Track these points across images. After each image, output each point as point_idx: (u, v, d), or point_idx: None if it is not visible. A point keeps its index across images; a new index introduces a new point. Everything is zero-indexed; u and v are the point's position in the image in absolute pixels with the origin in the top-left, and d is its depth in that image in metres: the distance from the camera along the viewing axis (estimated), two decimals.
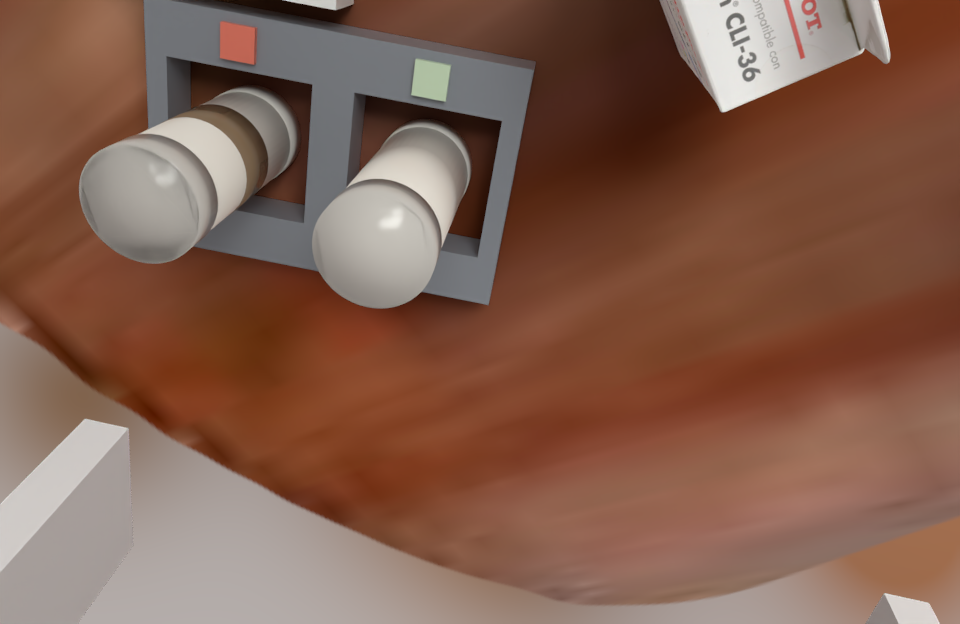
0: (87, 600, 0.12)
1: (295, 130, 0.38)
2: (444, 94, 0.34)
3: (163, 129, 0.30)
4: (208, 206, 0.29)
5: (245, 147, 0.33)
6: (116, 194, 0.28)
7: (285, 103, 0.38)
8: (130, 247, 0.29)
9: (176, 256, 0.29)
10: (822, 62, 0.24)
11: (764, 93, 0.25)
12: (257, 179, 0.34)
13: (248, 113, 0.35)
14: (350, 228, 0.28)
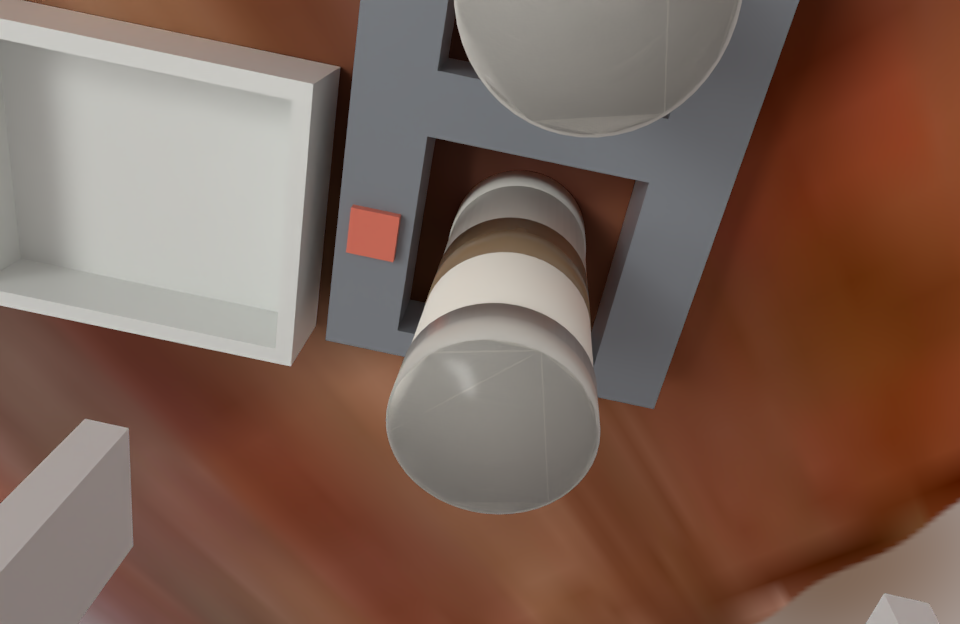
0: (87, 600, 0.12)
1: (513, 177, 0.26)
2: None
3: None
4: (507, 321, 0.16)
5: (477, 247, 0.20)
6: (472, 460, 0.17)
7: (478, 186, 0.26)
8: (567, 464, 0.17)
9: (590, 396, 0.16)
10: None
11: None
12: (537, 238, 0.21)
13: (454, 236, 0.23)
14: (538, 44, 0.13)
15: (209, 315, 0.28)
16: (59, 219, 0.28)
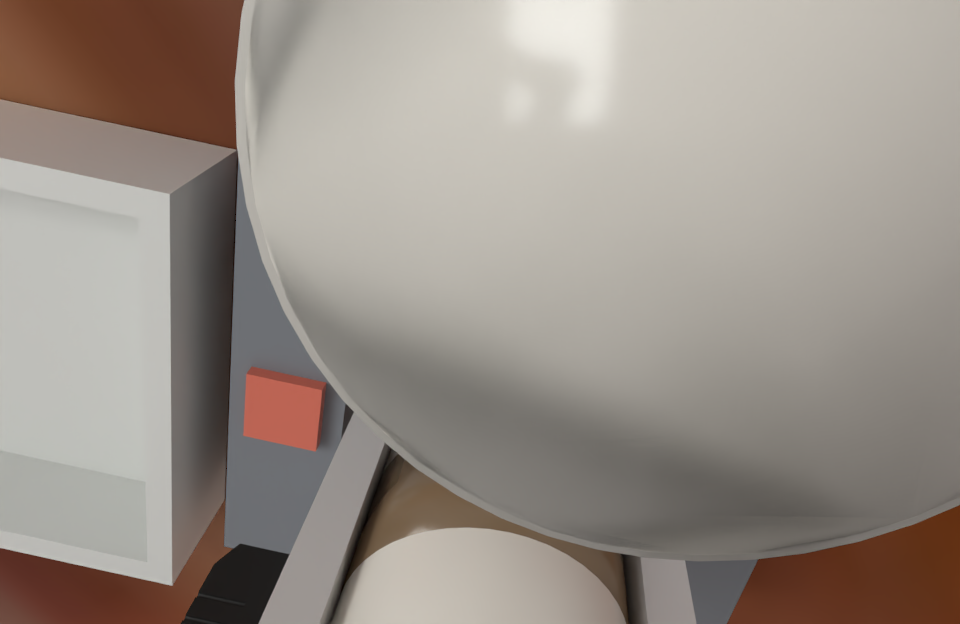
0: None
1: None
2: None
3: None
4: None
5: (429, 501, 0.12)
6: None
7: None
8: None
9: None
10: None
11: None
12: None
13: None
14: (523, 323, 0.04)
15: (60, 500, 0.19)
16: None
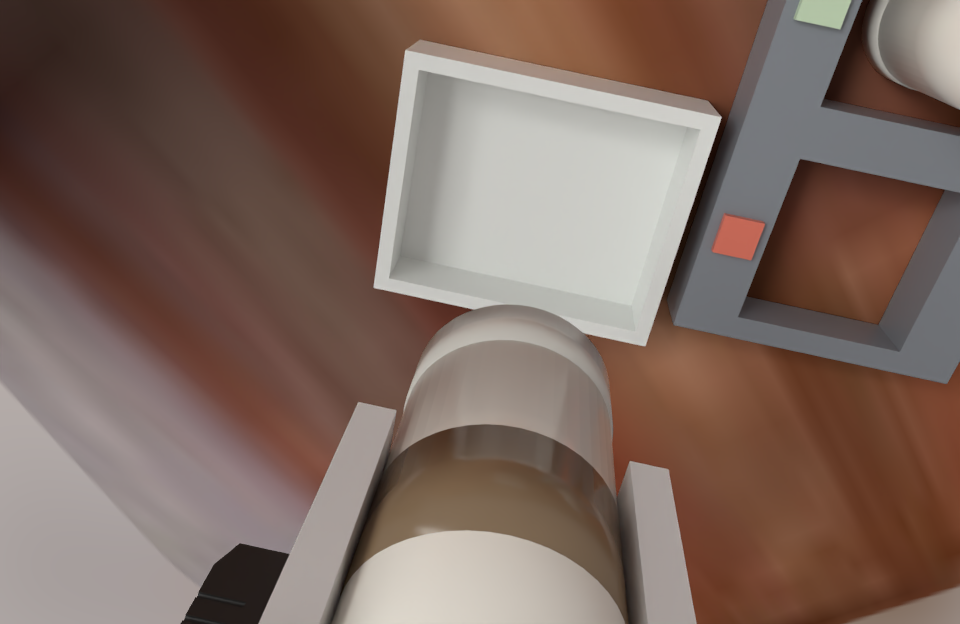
0: None
1: (502, 319, 0.17)
2: None
3: None
4: None
5: (429, 504, 0.12)
6: None
7: (449, 327, 0.17)
8: None
9: None
10: None
11: None
12: (534, 480, 0.12)
13: (402, 439, 0.14)
14: None
15: (568, 304, 0.33)
16: (442, 223, 0.34)
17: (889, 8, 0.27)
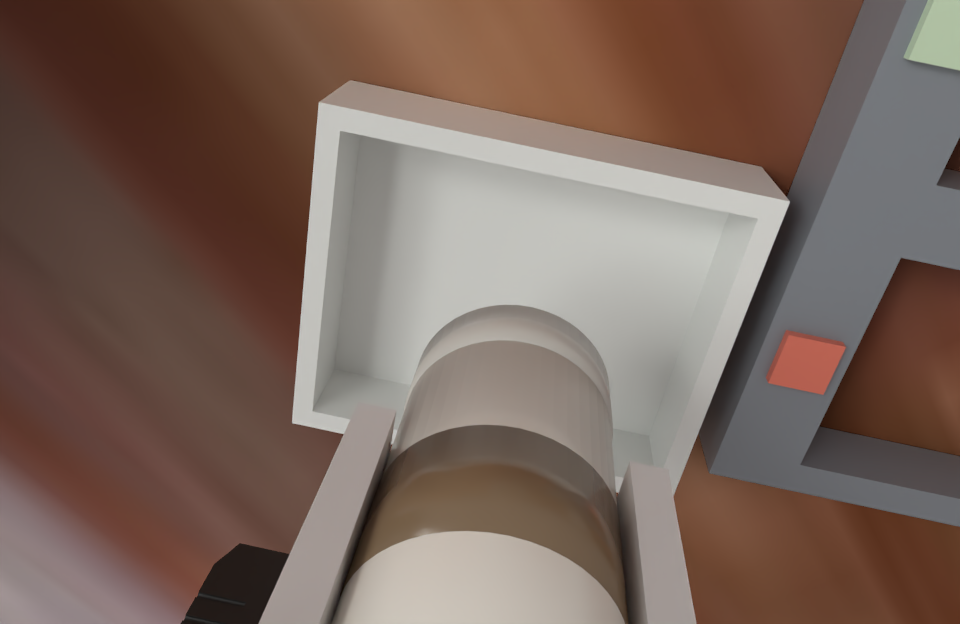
0: None
1: (502, 319, 0.17)
2: None
3: None
4: None
5: (428, 505, 0.12)
6: None
7: (449, 327, 0.17)
8: None
9: None
10: None
11: None
12: (535, 481, 0.12)
13: (402, 439, 0.14)
14: None
15: None
16: (389, 329, 0.24)
17: None
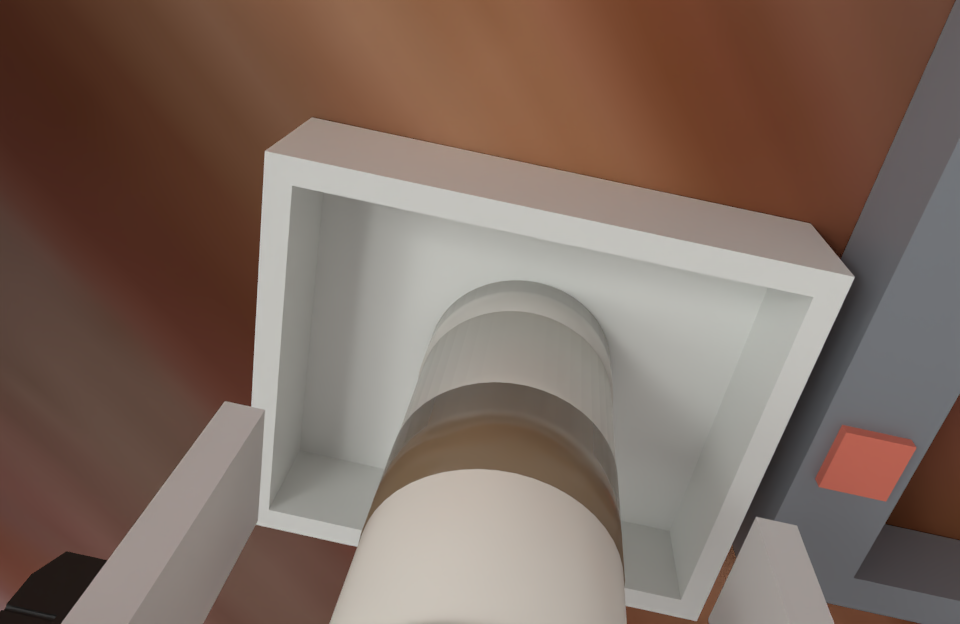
0: (228, 568, 0.14)
1: (510, 293, 0.18)
2: None
3: None
4: None
5: (443, 448, 0.13)
6: None
7: (461, 301, 0.19)
8: None
9: None
10: None
11: None
12: (539, 429, 0.13)
13: (418, 398, 0.15)
14: None
15: None
16: (363, 406, 0.21)
17: None
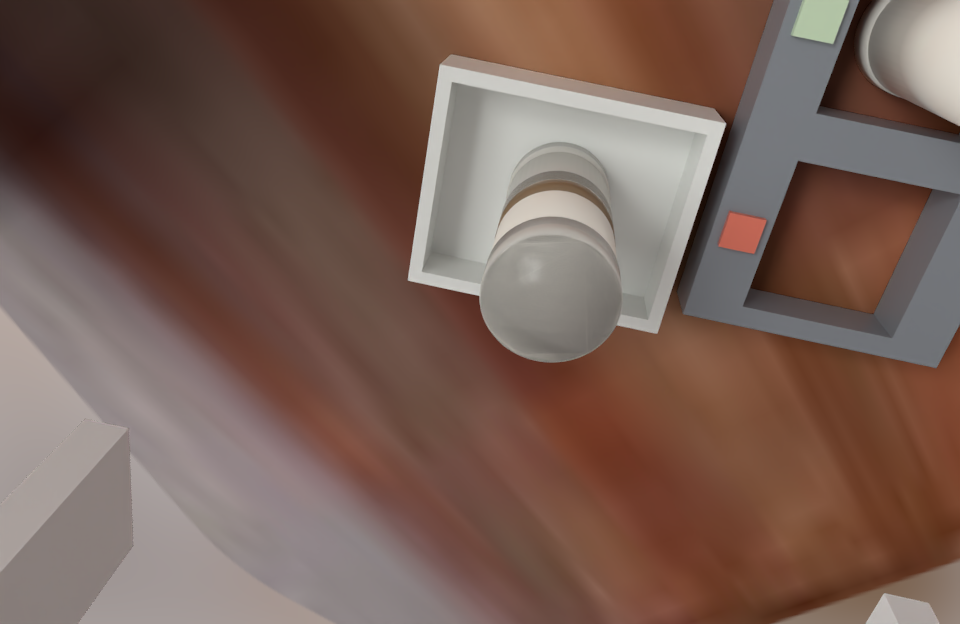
0: (87, 600, 0.12)
1: (556, 146, 0.34)
2: (840, 1, 0.29)
3: None
4: (561, 225, 0.25)
5: (534, 188, 0.29)
6: (536, 322, 0.25)
7: (528, 154, 0.35)
8: (600, 323, 0.25)
9: (616, 274, 0.24)
10: None
11: None
12: (576, 183, 0.29)
13: (514, 186, 0.31)
14: None
15: None
16: (470, 222, 0.37)
17: (877, 24, 0.30)
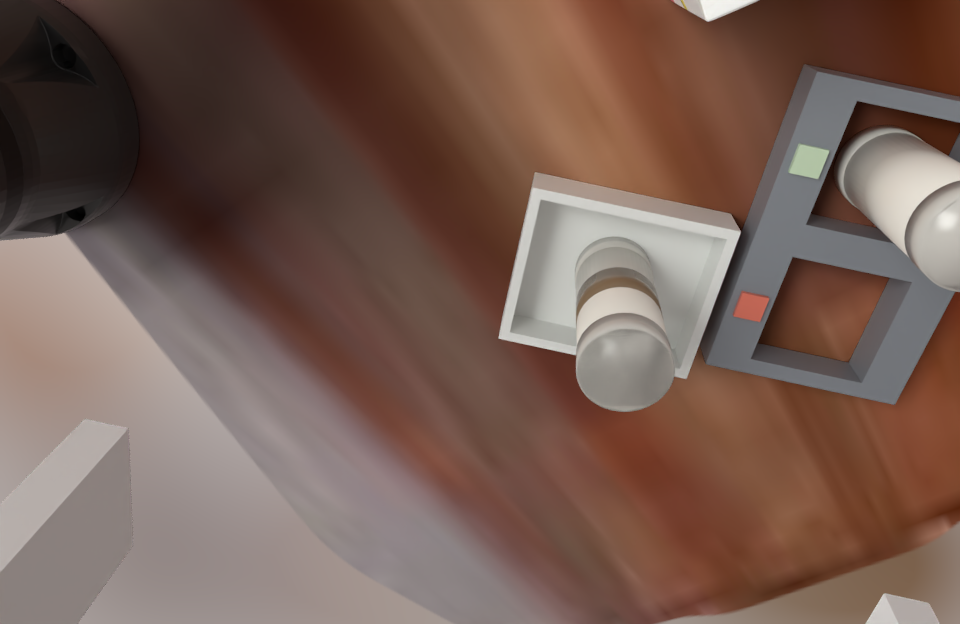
0: (87, 600, 0.12)
1: (613, 241, 0.46)
2: (823, 151, 0.40)
3: (577, 340, 0.39)
4: (633, 321, 0.36)
5: (605, 283, 0.40)
6: (614, 384, 0.37)
7: (591, 245, 0.46)
8: (659, 386, 0.37)
9: (671, 354, 0.36)
10: None
11: None
12: (635, 279, 0.41)
13: (586, 276, 0.43)
14: (950, 258, 0.33)
15: None
16: (543, 292, 0.48)
17: (850, 164, 0.41)
